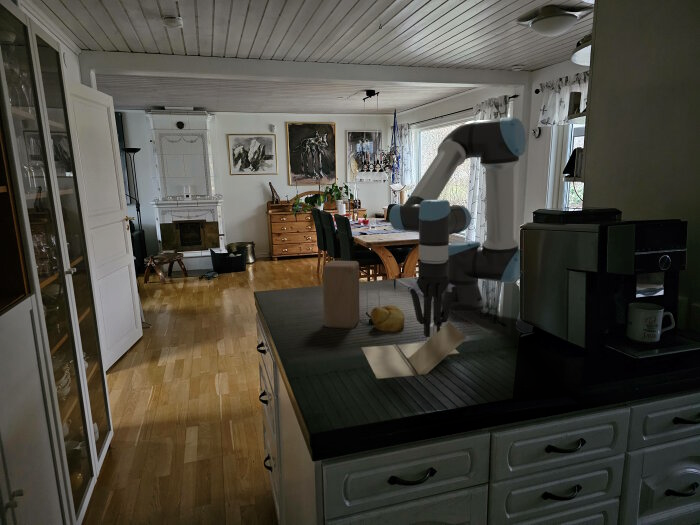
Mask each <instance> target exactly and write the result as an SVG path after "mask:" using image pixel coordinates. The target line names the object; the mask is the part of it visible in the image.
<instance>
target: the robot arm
mask: <svg viewBox="0 0 700 525" xmlns="http://www.w3.org/2000/svg"><path fill="white" fill-rule="evenodd" d="M526 138H527V137H526V130H525V128H524V125H523V123H522V121H521V120H520V119H519V118H518V117H512V116H511V117H510V116H509V117H504V116H503V117H497V118H490V119H489V118H488V119H480V120H479V119H478V120H470V121H467V122H464V123H462V124H460V125H459V126H457V127H455V128H454V129H453V130H452V131H451V132H449V134H447V135H446V136H445V137H444V139H443V140H442V141H441V142H440V144H439V145H438V148H437V154H436V156H435V158H434V159H433V160H432V161H431V163H430V165H429V166H428V168H427V169H426V171H424V174H423V176H422V177H421V178H420V180H419V181H418V183H417V185H416V186H415V188H414V189H413V190H412V191H411V194H410V195H409V196H408V197H407V199H406V201H405V203H404V204H403V203H399V204H395V205H393V206H392V207H391V209H390V211H389V215H388V216H389V222H390V225H391V227H392V228H393V229H394V230H398V231H404V232H418V235H419V236H418V260H420V261H418V268H417V269H418V270H417V271H418V273H417V276H418V278H417V279H416V282H415V283H416V284H414V285H413V286H409V287H408V288H407V290H408V293H409V294H410V295H411V299H412V303H413V309H414V313H415V318H416V321H417V322H418V323H419V324H420V325H423V336H424V337H425V338H426V342H427V341H428V340H430V339H431V338H432V337H433V336H434V335H435V334H436V333H437V332H439V331H440V330H441V326H442V324H444V323H446V324H447V323H448V319H449V317H450V311H451V309H455V310H476V309H479V308H481V307H482V306H483V297H482V292H481V290H480V287H479V280H484V281H491V282H499V283H508V284H510V283H511V284H512V283H516V282H517V280H518V279H519V278H520V276H521V274H520V249H521V248H519V242H518V241H517V240H516V239H515V238H514V227H515V226H514V222H515V221H514V220H515V219H514V216H515V215H514V211H515V210H514V209H515V208H514V206H515V205H514V204H515V203H514V202H515V201H514V200H515V199H514V196H515V195H514V194H515V192H514V190H515V185H514V184H515V181H514V180H515V177H514V176H515V167H516V164H518V163H519V162H520V156H523V155H524V153H525V152H526V146H527V139H526ZM471 158H480V165H481V166H482V167H484V168H485V206H486V207H485V211H486V213H485V214H486V220H485V221H486V239H485V240H484V241H483V242H482V243H481V242H480V241H476V240H475V241H474V240H473V241H462V242H461V241H460V242H453V243H450V235H453V234H459V233H462V232H464V231H466V230H467V229H468V228H469V227H470V225H471V222H472V215H471V213H470V210H469V209H468V208H466V207H465V206H463V205H459V204H453V205H451V204H450V202H449V200H448V199H439V197H440V196H441V194H442V193H443V191H444V189H445V187H446V186H447V184H448V183H449V181H450V179H451V178H452V177H453V175H454V173H455V171H456V170H457V168H458V167H459V166H461V165H462V164H464V163H465V161H466V160H468V159H471ZM449 243H450V244H449ZM481 244H482V245H481ZM419 290H420V291H419ZM419 292H421V293H422V294H423V296H422V297H423V310H422V305H421V300H420V297H419ZM432 301H433V303H432ZM432 304H433V307H432ZM432 308H433V309H432ZM432 310H433V311H432ZM432 313H433V316H432ZM432 319H433V320H432ZM431 321H432V322H431Z"/></svg>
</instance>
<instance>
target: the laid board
mask: <svg viewBox="0 0 700 525" xmlns="http://www.w3.org/2000/svg"><path fill="white" fill-rule="evenodd" d="M360 348H361V350H362V351H363V354H364V356H365V357H366V359H367V362H368V364H369V366H370V368H371V370H372V372H373V373H374V375H375V378H376V379H377V380H378V379H390V378H401V377H413V376H414V377H415V376H418V372H417V371H416V370H415V368H414V367H413V366H412V364H411V363H410V362H409V360H408V359H407V358H406V356H405V355H404V354H403V352H402V351H401V350H400V348H399V347H398V346H397V344H390V345H389V344H388V345H379V346H377V345H376V346H364V347H360Z"/></svg>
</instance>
